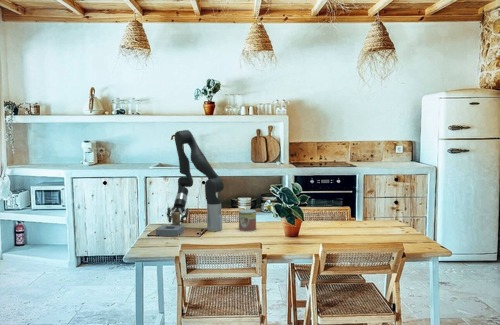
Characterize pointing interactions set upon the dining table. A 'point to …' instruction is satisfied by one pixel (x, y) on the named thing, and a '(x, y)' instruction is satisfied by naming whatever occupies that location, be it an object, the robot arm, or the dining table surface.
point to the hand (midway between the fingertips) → (175, 222)
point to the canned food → (247, 220)
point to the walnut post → (176, 218)
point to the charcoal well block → (169, 230)
